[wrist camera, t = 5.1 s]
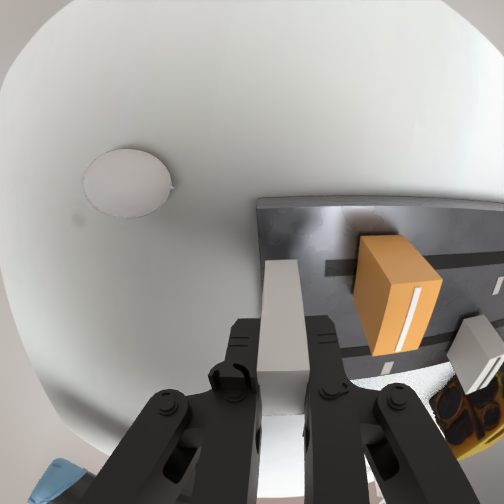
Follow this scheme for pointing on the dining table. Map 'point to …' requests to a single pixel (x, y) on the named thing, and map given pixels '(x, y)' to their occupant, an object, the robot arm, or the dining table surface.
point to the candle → (471, 415)
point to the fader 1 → (393, 293)
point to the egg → (127, 183)
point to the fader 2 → (476, 353)
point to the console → (423, 240)
